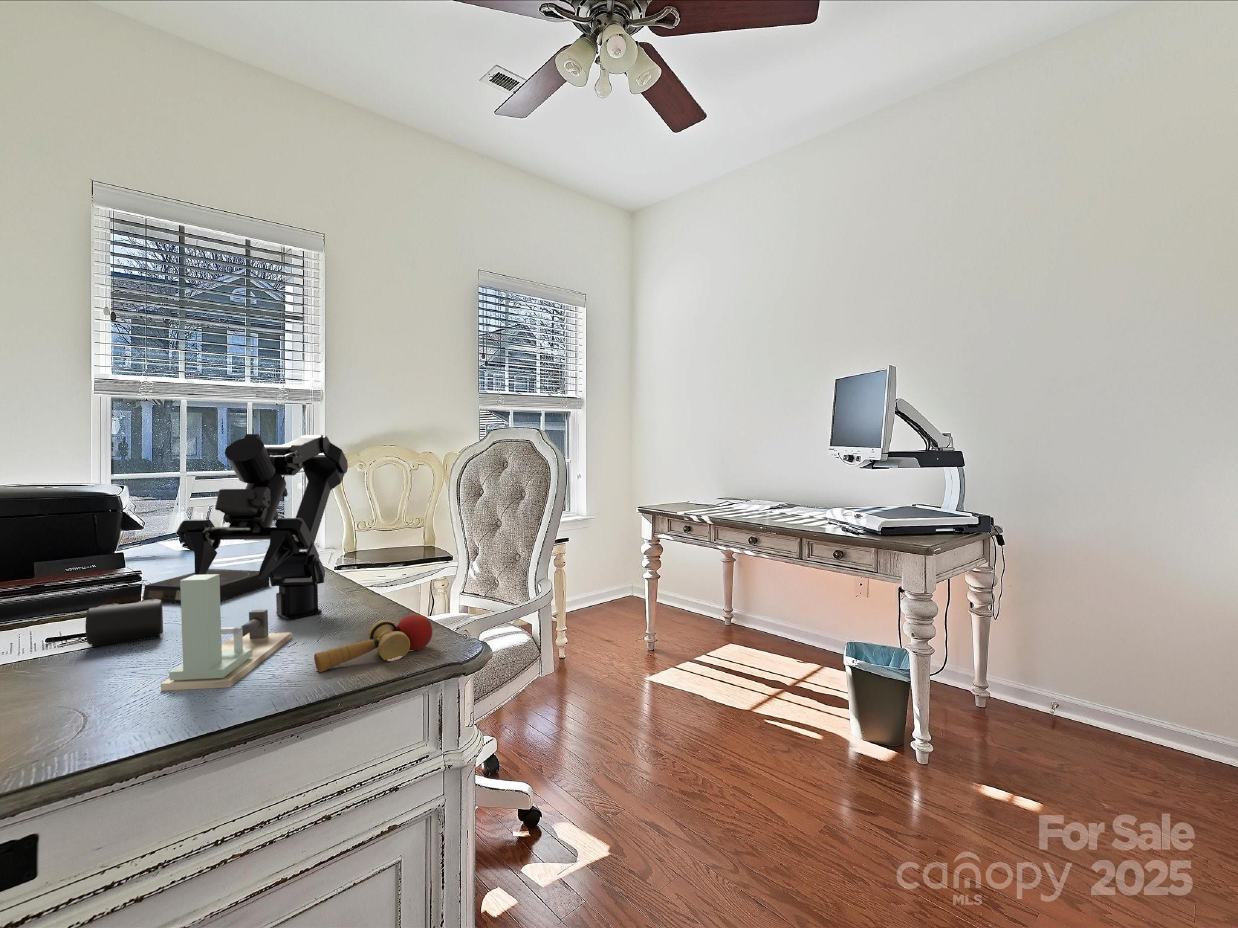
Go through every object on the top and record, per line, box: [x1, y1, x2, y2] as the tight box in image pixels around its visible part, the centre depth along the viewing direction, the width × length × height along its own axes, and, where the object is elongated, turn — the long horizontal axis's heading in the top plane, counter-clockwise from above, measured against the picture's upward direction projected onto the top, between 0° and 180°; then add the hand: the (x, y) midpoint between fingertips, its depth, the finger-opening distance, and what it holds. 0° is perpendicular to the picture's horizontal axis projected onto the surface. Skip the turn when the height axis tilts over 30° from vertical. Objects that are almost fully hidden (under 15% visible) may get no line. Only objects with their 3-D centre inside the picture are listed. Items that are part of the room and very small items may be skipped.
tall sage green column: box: [168, 574, 252, 680], centre depth 88 cm, size 8×7×14 cm
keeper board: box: [160, 609, 293, 692], centre depth 94 cm, size 21×9×6 cm, turn 7°
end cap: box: [85, 598, 164, 648], centre depth 104 cm, size 10×7×7 cm
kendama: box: [313, 613, 433, 673], centre depth 96 cm, size 8×6×18 cm
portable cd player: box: [142, 568, 270, 605], centre depth 135 cm, size 16×17×4 cm
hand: (229, 578), depth 93 cm, fingers open, 9 cm apart
